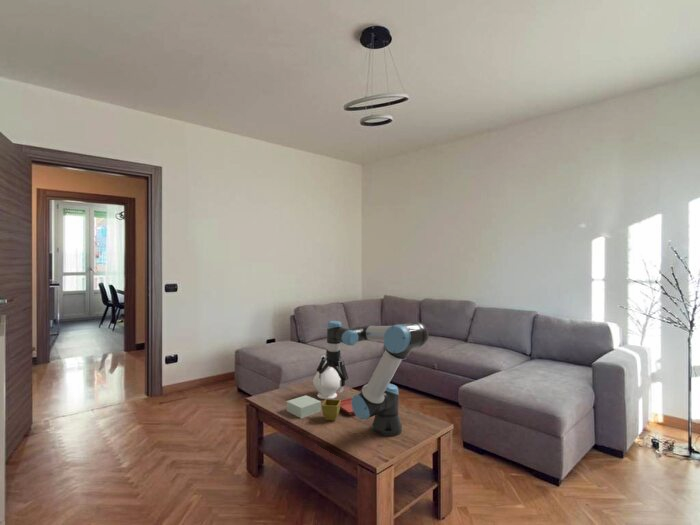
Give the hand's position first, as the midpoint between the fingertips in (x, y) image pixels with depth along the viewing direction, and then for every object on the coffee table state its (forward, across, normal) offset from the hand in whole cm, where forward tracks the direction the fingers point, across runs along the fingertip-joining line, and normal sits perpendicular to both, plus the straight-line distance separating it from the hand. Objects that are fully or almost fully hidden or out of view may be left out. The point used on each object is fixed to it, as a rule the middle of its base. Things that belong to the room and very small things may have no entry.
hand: (331, 388), depth 207 cm
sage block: (+19, +18, +1) cm, 26 cm away
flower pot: (+17, -1, 0) cm, 17 cm away
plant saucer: (+18, -3, -19) cm, 26 cm away
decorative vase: (+19, +24, -26) cm, 40 cm away
